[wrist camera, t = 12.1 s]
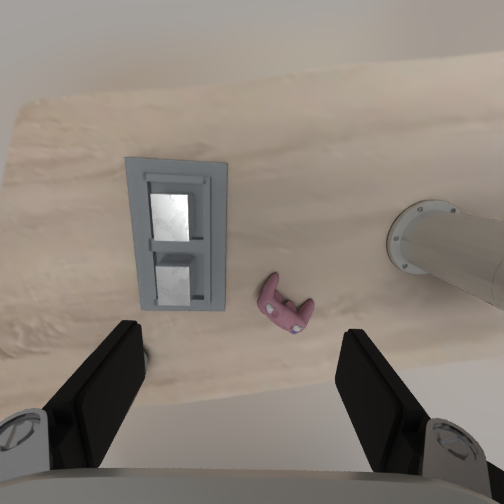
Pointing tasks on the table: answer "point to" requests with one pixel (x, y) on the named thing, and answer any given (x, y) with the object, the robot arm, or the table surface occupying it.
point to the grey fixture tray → (201, 244)
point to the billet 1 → (173, 216)
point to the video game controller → (283, 308)
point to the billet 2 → (176, 280)
